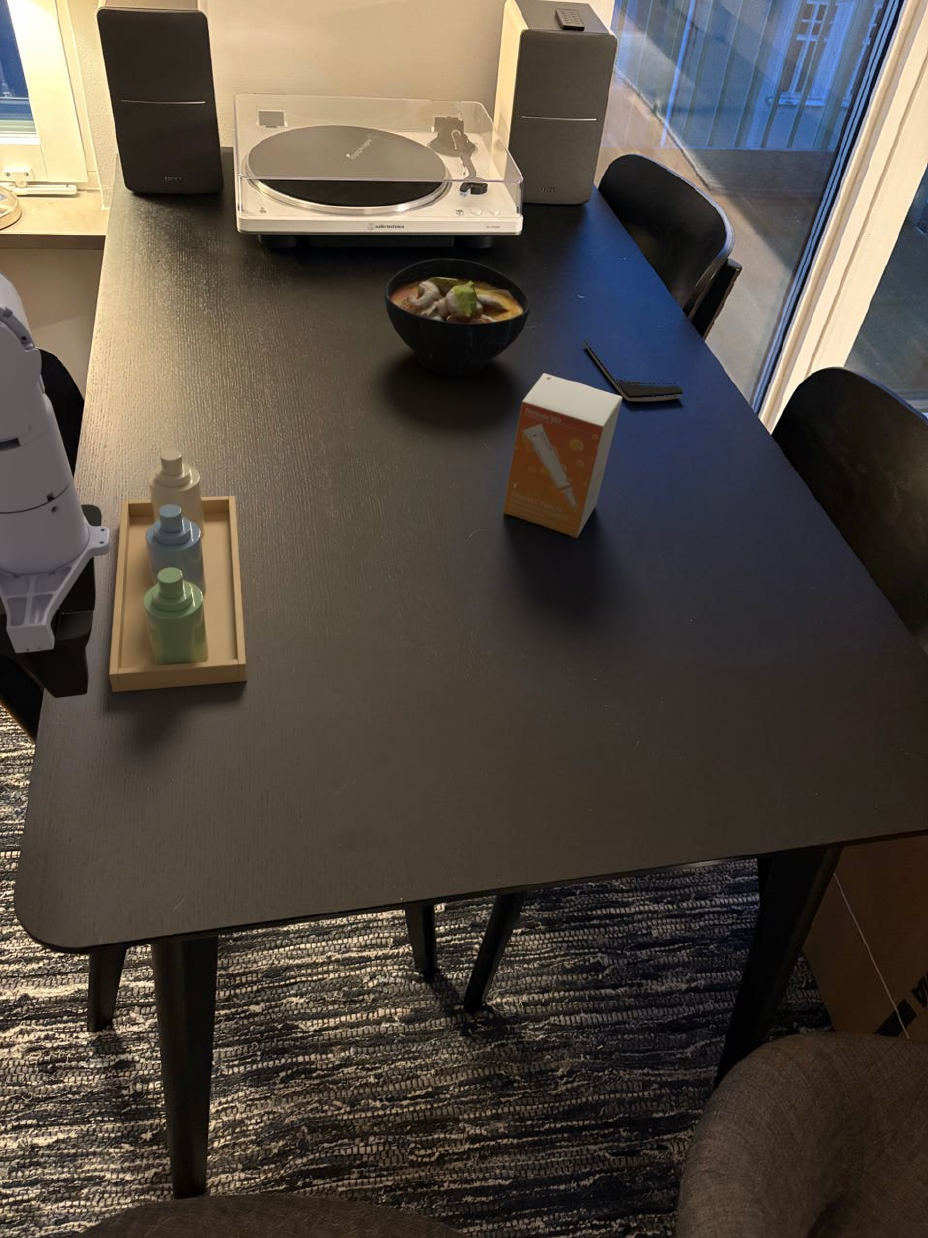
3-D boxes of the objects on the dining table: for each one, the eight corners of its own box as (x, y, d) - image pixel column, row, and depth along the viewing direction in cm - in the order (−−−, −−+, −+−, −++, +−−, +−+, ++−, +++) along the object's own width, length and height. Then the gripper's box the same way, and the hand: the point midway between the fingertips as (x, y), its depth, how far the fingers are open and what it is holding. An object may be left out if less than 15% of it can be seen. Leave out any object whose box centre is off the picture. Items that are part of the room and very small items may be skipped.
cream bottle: (155, 547, 87) (143, 469, 81) (156, 517, 90) (144, 440, 85) (205, 544, 88) (197, 468, 82) (204, 515, 91) (196, 439, 86)
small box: (501, 514, 97) (519, 399, 88) (523, 482, 101) (542, 370, 92) (578, 540, 95) (604, 425, 86) (597, 506, 99) (624, 394, 90)
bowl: (509, 328, 126) (519, 253, 119) (531, 397, 114) (544, 318, 107) (378, 323, 124) (381, 246, 117) (386, 393, 111) (390, 312, 105)
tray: (112, 692, 75) (108, 674, 74) (124, 517, 91) (121, 500, 89) (247, 681, 77) (245, 663, 76) (236, 512, 93) (235, 495, 91)
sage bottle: (152, 675, 76) (138, 596, 70) (153, 636, 79) (139, 557, 73) (209, 671, 77) (200, 592, 71) (208, 632, 80) (199, 554, 74)
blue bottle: (153, 607, 82) (140, 528, 76) (154, 573, 85) (142, 495, 79) (207, 603, 83) (198, 525, 77) (206, 570, 86) (197, 493, 80)
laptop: (635, 333, 126) (685, 392, 116) (633, 341, 127) (682, 401, 117) (583, 335, 124) (629, 396, 114) (581, 344, 125) (627, 405, 115)
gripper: (84, 558, 50) (134, 725, 60) (100, 406, 60) (141, 570, 70) (-63, 572, 49) (13, 740, 58) (-22, 415, 59) (37, 580, 68)
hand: (75, 648), depth 64 cm, fingers open, 7 cm apart
